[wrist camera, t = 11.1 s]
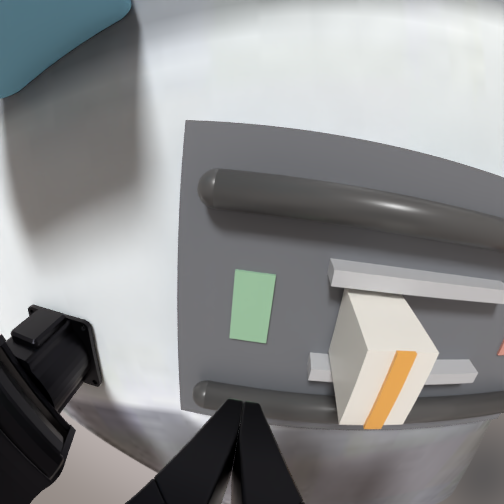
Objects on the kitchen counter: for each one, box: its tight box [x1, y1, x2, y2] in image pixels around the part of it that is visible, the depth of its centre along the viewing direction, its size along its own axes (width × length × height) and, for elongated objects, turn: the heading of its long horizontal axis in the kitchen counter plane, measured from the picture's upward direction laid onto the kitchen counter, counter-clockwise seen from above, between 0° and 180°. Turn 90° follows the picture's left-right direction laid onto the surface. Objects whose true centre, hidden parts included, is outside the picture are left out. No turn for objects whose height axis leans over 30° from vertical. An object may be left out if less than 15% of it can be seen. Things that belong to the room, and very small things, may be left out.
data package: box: [0, 0, 131, 98], centre depth 9 cm, size 12×4×12 cm, turn 108°
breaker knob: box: [329, 288, 439, 429], centre depth 13 cm, size 4×3×6 cm
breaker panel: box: [177, 120, 504, 430], centre depth 16 cm, size 18×26×4 cm
